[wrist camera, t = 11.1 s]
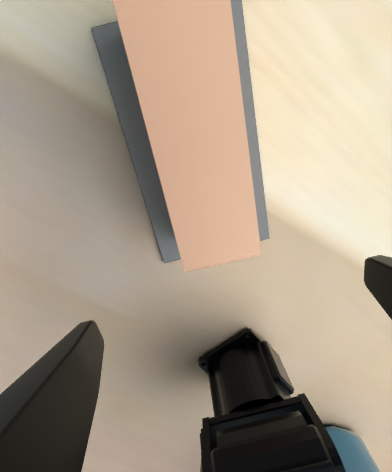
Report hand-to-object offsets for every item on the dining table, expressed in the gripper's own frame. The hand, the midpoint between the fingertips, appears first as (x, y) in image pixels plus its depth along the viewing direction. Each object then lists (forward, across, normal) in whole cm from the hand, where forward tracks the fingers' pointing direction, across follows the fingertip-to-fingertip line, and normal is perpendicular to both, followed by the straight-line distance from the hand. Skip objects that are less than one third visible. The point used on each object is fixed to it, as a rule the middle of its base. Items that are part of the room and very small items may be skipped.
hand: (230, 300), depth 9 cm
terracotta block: (+10, -1, +3) cm, 10 cm away
